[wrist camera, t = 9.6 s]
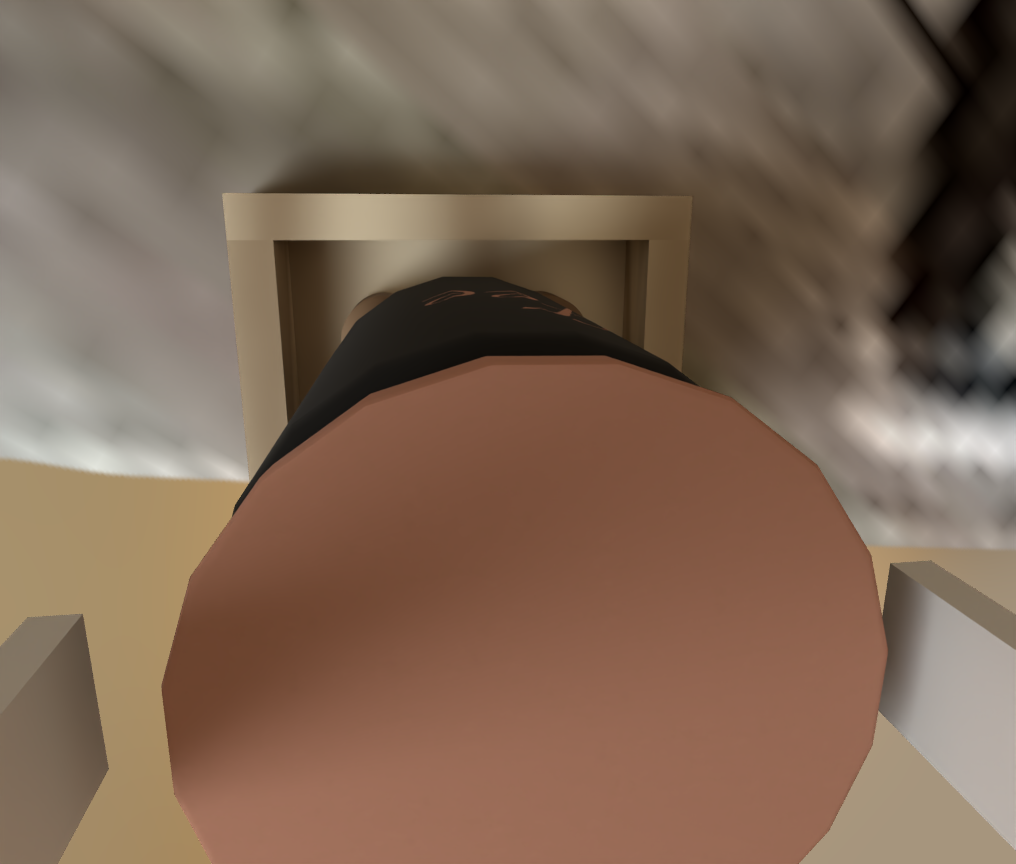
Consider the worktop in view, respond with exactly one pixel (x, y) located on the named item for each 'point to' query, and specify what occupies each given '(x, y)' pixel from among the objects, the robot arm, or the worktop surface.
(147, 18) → the worktop surface
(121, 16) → the worktop surface
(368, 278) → the peg frame
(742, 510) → the coffee jar
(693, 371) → the worktop surface
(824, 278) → the worktop surface
